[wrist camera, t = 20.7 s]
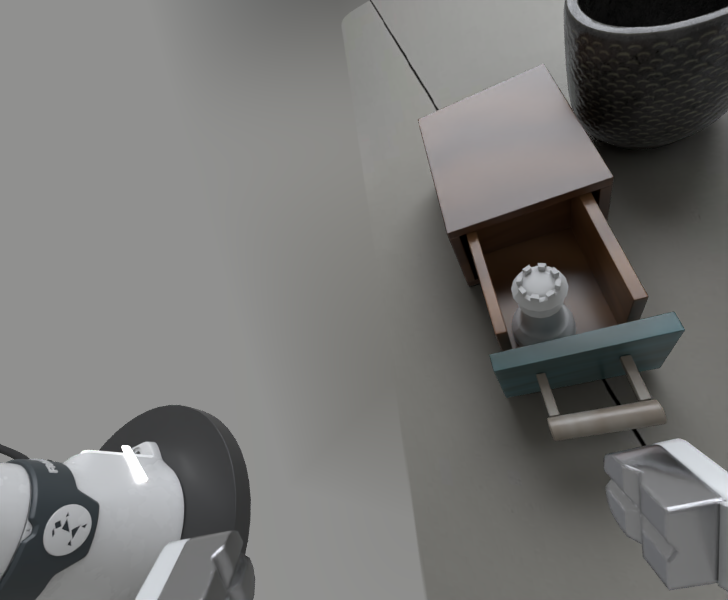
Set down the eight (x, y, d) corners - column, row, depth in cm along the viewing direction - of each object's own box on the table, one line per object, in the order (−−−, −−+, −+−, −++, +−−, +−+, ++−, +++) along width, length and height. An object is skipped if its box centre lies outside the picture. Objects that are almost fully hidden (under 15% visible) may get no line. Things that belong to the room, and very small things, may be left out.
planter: (652, 201, 33) (693, 58, 23) (533, 137, 41) (523, 11, 31) (790, 96, 32) (897, -102, 22) (640, 52, 41) (666, -105, 30)
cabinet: (603, 247, 33) (614, 176, 26) (468, 287, 36) (447, 233, 30) (547, 139, 40) (543, 62, 34) (439, 180, 44) (417, 119, 37)
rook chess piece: (527, 366, 29) (517, 324, 23) (503, 317, 32) (488, 267, 25) (587, 345, 28) (595, 295, 22) (558, 296, 31) (557, 238, 24)
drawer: (692, 430, 24) (729, 405, 19) (522, 455, 28) (512, 440, 22) (585, 222, 34) (589, 165, 28) (467, 259, 37) (451, 215, 31)
